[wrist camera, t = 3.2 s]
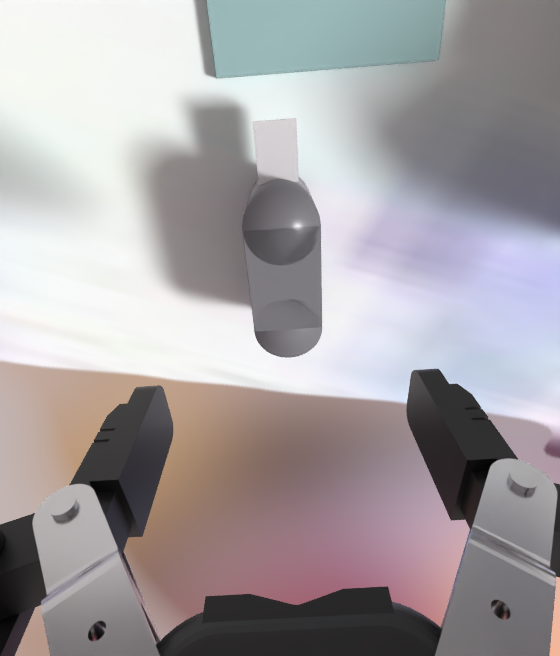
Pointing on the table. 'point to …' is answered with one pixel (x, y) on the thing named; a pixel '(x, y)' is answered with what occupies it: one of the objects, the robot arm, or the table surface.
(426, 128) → the table surface
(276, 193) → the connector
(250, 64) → the teal rubber mat
